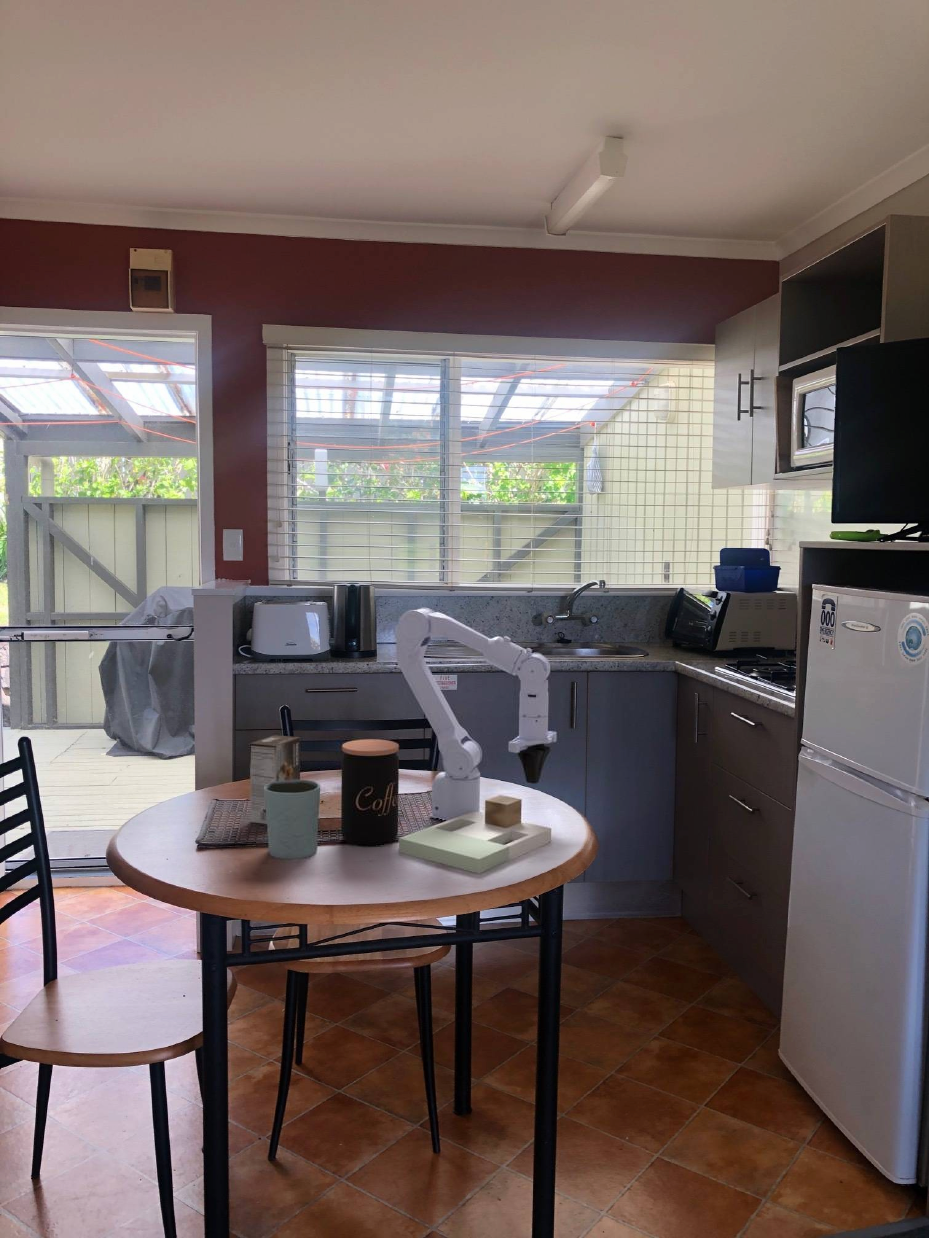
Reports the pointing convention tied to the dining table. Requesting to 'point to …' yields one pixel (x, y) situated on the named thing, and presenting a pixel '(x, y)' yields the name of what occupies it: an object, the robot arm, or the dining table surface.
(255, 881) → the dining table surface
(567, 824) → the dining table surface
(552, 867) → the dining table surface
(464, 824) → the pale green slotted tray
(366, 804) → the coffee jar
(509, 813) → the block
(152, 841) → the dining table surface
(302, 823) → the pale green cup
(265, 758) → the coffee box
